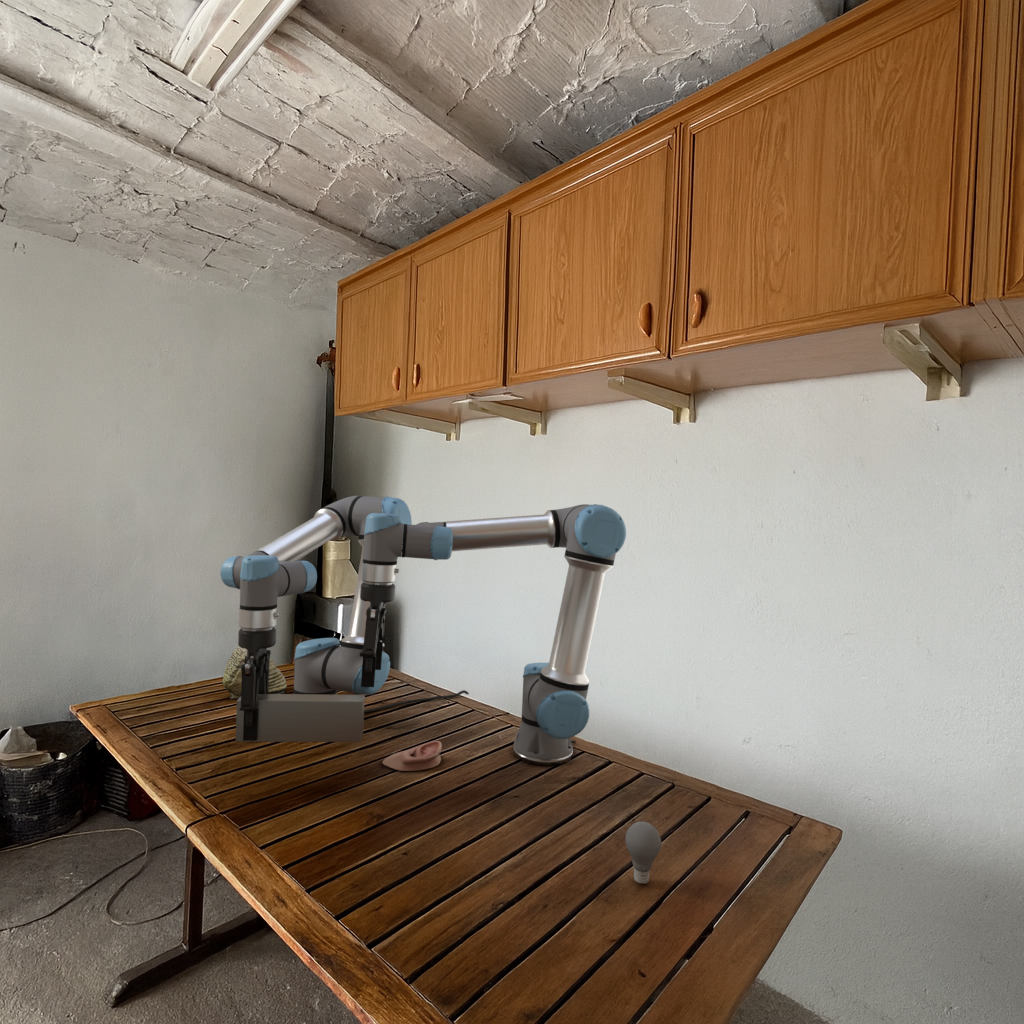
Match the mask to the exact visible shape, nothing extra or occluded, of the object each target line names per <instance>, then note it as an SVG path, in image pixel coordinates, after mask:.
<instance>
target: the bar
mask: <svg viewBox="0 0 1024 1024" xmlns="http://www.w3.org/2000/svg"><path fill="white" fill-rule="evenodd" d="M365 696H366V695H363V694H358V695H357V694H337V695H323V694H294V693H292V694H291V693H280V694H258V700H257V709H258V733H257V740H256V741H243V725H244V711H240V710H239V708H241V697H240V698H237V700H236V713H235V715H236V717H235V743H361V741H362V739H363V736H364V722H365V721H364V719H365V713H364V710H365V698H366V697H365Z"/></svg>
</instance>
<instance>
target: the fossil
mask: <svg viewBox="0 0 1024 1024" xmlns="http://www.w3.org/2000/svg"><path fill="white" fill-rule="evenodd" d="M247 652H248V651H247V649H245V648H241V647H239V646H238V647H237V648H236V649H235V650H233V651H232V653H231V656H230V657H229V659H228V660H227V663H226V666H225V668H224V671H223V675H222V676H223V677H222V685H223V687H224V688H225V690H226V691H228V693H229V698H230V699H239V698H240V697H241V684H242V672H241V665H242V664H244V660H245V656H247ZM287 687H288V686H287V680H286V678H285V676H284V674H283V673H282V672H281V669H279V668H278V667H277V665H276V663H275V662H274V660H273V659H272V658H271V657H270V662H269V688H268V691H269V692H268V694H284V693H285V691H286V689H287Z"/></svg>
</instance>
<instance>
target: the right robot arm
mask: <svg viewBox="0 0 1024 1024" xmlns="http://www.w3.org/2000/svg"><path fill="white" fill-rule="evenodd" d="M403 529H404V530H403ZM626 536H627V527H626V523H625V521H624V519H623V518H622V516H621V514H620V513H618V511H616V510H615V509H613V508H611V507H609V506H607V505H604V504H596V503H595V504H587V503H586V504H577V505H572V506H569V507H564V508H557V509H548V510H546V512H545V513H543V514H533V515H517V516H503V517H492V518H491V517H489V518H477V519H462V520H447V521H434V522H429V521H422V522H419V523H416V524H412V525H408V524H403V523H401V521H400V516H399V515H395V514H384V513H371V514H369V515H368V516H367V518H366V526H365V533H364V549H363V562H362V573H361V580H362V581H364V582H363V583H362V584H361V590H360V599H361V600H363V601H369V602H370V607H368V609H367V611H366V617H367V618H366V629H365V637H364V644H363V651H362V652H360V656H361V657H363V664H362V677H361V687H374V682H375V670H381V663H382V649H383V643H384V642H386V641H387V636H386V635H385V621H386V614H387V608H386V603H391V602H394V601H395V598H396V597H395V595H396V585H395V584H394V583H395V582H396V577H397V574H399V573H400V569H399V568H397V564H398V558H409V559H424V560H434V561H439V560H440V561H443V560H444V561H446V560H450V558H451V557H452V553H453V552H463V551H464V552H465V551H477V550H488V549H503V548H515V547H531V546H545V545H547V547H549V548H550V549H554V548H555V549H556V548H557V549H558V548H564V549H565V552H564V556H563V557H564V559H565V560H566V562H567V563H568V569H567V573H566V579H565V583H564V588H563V593H562V598H561V603H560V608H559V612H558V617H557V623H556V627H555V633H554V637H553V642H552V647H551V651H550V657H549V660H548V662H531V663H528V664H526V665H525V666H524V667H523V674H522V701H521V721H520V725H519V727H518V730H516V733H515V739H514V741H513V746H512V754H513V756H515V757H516V758H517V759H518V760H520V761H522V762H524V763H528V764H532V765H535V766H558V765H563V764H565V763H568V762H569V761H571V760H572V758H573V756H574V747H573V746H574V745H575V744H576V743H577V741H576V740H574V739H572V738H574V737H575V736H577V735H578V734H581V732H582V731H583V730H584V729H585V728H586V726H587V724H588V722H589V720H590V708H589V707H590V706H589V702H588V701H587V696H588V692H589V686H590V679H589V677H588V676H587V674H586V668H587V663H588V660H589V659H588V658H589V653H590V649H591V644H592V640H593V639H592V638H593V635H594V630H595V624H596V620H597V615H598V611H599V610H598V609H599V604H600V600H601V595H602V590H603V586H604V580H605V575H606V573H607V572H609V570H611V569H612V568H614V565H615V559H616V556H617V553H618V552H619V551H620V550H621V549H622V548H623V547H624V544H625V542H626V538H627V537H626ZM381 641H382V642H381ZM573 744H574V745H573Z"/></svg>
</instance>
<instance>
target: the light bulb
mask: <svg viewBox="0 0 1024 1024" xmlns="http://www.w3.org/2000/svg"><path fill="white" fill-rule="evenodd" d="M624 839H625V840H624V841H625V846H626V849H627V851H628V853H629V855H630V857H631V863H632V866H633V879H634V882H636V883H639V884H648V883H649V882H650V870H651V869H652V867H653V862H654V861H655V859H656V858H657V856H658V854H659V853H660V851H661V847H662V839H661V835H660V833H659V831H658V829H657V828H656V827H655V826H654V825H653V824H651V823H649V822H647V821H637V822H634V823H633V824H632V825H630V826H629V828H627V830H626V834H625V838H624Z"/></svg>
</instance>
